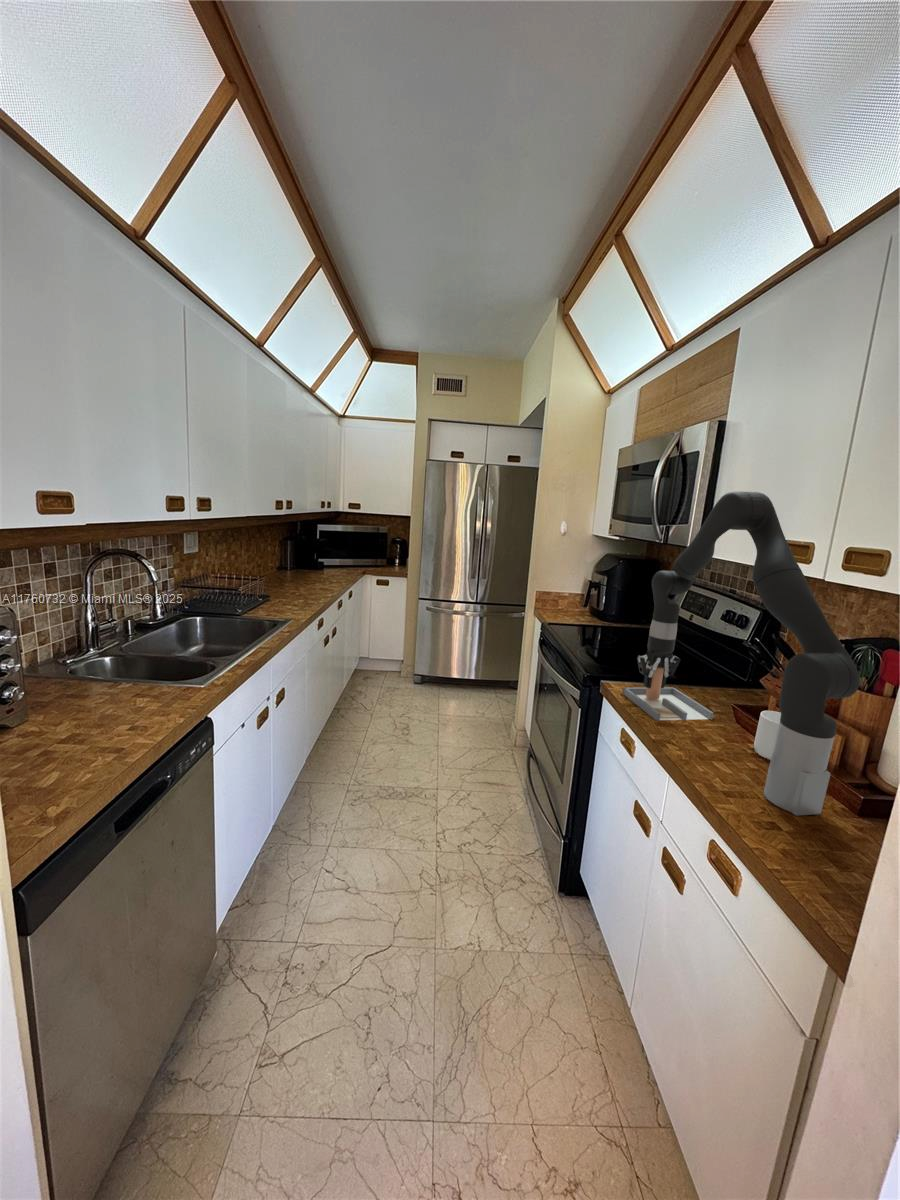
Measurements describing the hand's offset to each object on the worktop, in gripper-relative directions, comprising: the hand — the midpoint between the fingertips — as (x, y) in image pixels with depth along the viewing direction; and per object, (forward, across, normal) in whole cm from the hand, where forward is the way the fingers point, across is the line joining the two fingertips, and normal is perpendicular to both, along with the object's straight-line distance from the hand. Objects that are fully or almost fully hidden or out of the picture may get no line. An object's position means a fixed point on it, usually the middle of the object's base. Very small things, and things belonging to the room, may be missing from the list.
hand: (654, 687), depth 147 cm
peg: (+3, 0, 0) cm, 3 cm away
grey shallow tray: (+5, +2, -4) cm, 7 cm away
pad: (+4, -3, -10) cm, 11 cm away
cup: (+5, +15, -30) cm, 34 cm away
